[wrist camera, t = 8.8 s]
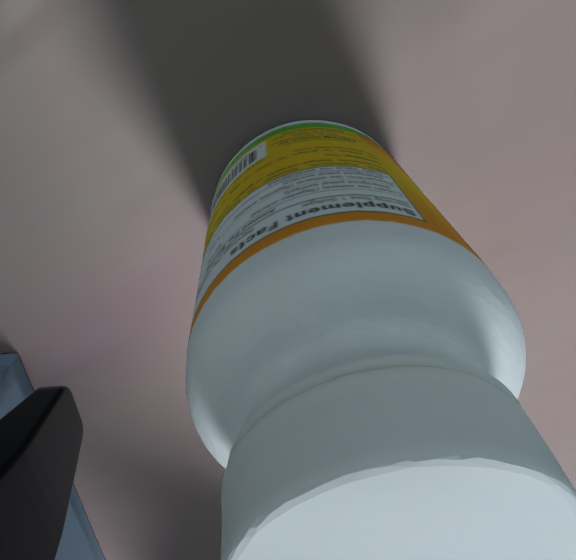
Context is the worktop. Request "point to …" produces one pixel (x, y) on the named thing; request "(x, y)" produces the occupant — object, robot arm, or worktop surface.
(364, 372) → the supplement bottle
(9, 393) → the tote
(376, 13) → the worktop surface
